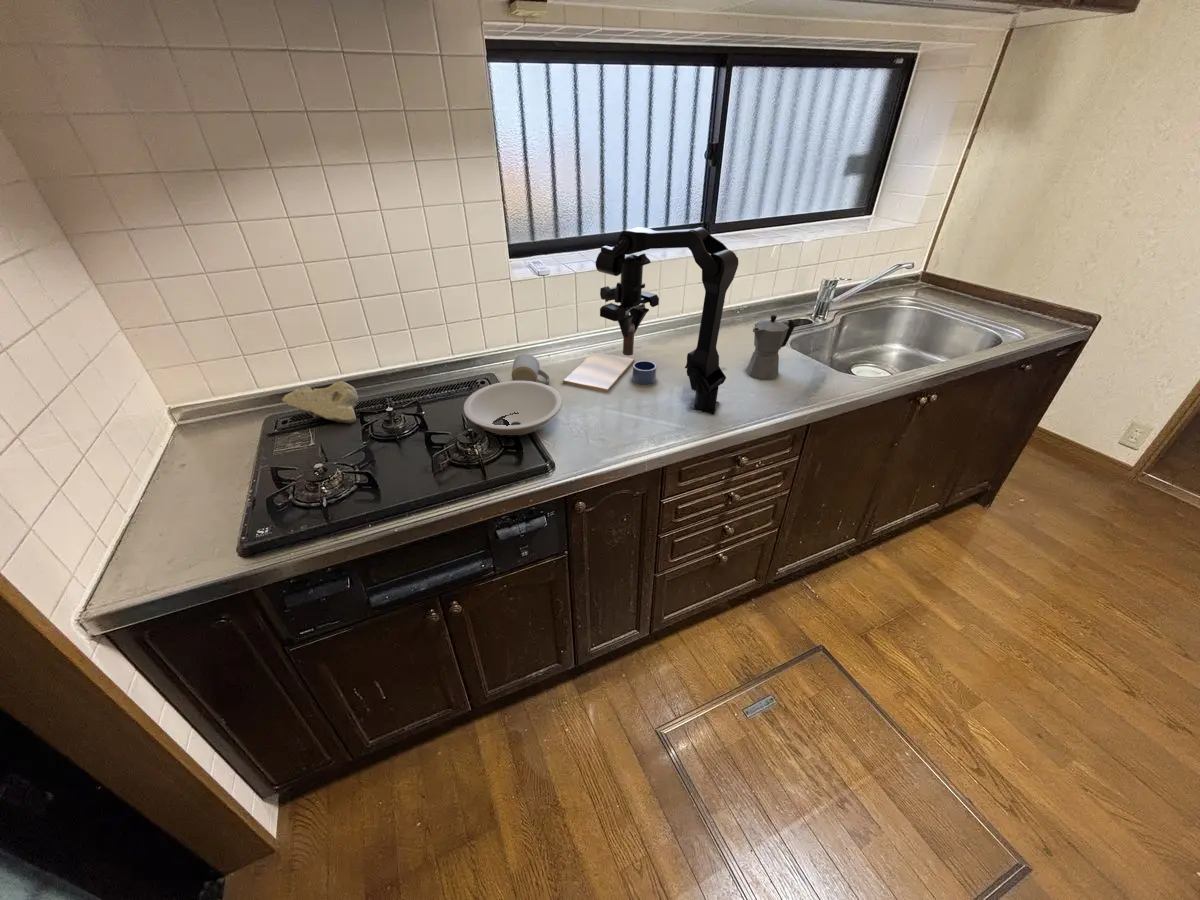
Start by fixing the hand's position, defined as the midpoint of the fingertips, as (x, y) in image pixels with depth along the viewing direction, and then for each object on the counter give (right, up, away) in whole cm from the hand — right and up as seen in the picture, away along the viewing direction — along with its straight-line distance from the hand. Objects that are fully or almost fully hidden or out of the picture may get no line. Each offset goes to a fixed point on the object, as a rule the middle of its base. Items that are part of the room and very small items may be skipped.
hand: (628, 335), depth 141 cm
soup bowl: (-30, -26, -14) cm, 42 cm away
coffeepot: (+42, -9, +11) cm, 44 cm away
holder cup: (+5, -12, +6) cm, 14 cm away
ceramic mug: (-28, -13, +5) cm, 32 cm away
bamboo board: (-8, -9, +10) cm, 16 cm away
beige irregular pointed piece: (-78, -25, -12) cm, 83 cm away
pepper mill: (0, -4, +3) cm, 6 cm away
